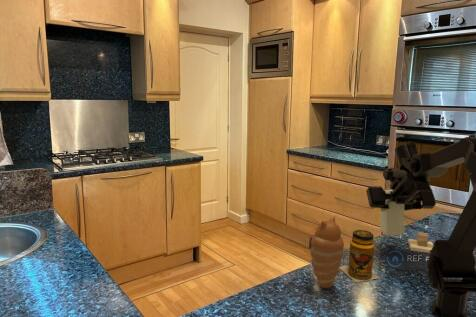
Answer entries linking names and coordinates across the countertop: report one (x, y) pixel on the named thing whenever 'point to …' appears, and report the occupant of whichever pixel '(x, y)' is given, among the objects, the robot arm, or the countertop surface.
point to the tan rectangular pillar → (392, 219)
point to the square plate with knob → (420, 243)
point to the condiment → (360, 257)
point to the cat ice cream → (327, 252)
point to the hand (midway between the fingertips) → (390, 209)
